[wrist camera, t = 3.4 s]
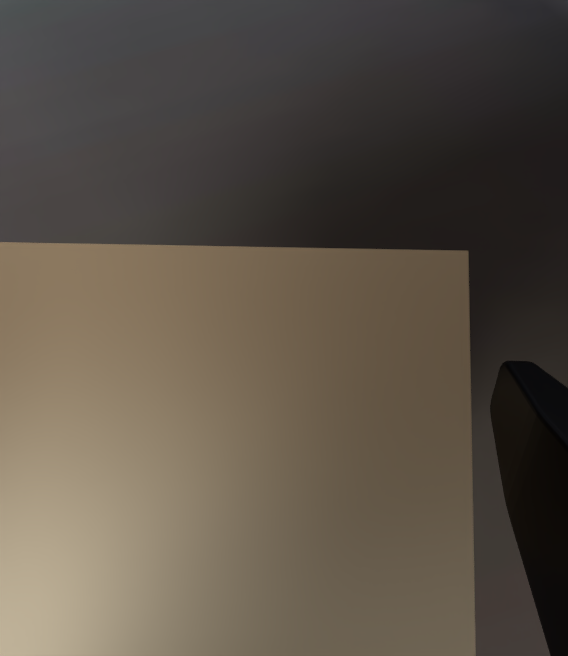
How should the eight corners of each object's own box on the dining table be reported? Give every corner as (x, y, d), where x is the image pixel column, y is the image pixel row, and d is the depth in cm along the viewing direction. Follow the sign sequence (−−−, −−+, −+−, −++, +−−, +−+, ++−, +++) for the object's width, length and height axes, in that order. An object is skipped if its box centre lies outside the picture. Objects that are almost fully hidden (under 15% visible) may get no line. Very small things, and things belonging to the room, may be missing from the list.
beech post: (362, 524, 14) (480, 846, 3) (217, 515, 14) (-101, 778, 4) (365, 377, 15) (468, 251, 4) (226, 371, 15) (-18, 241, 4)
